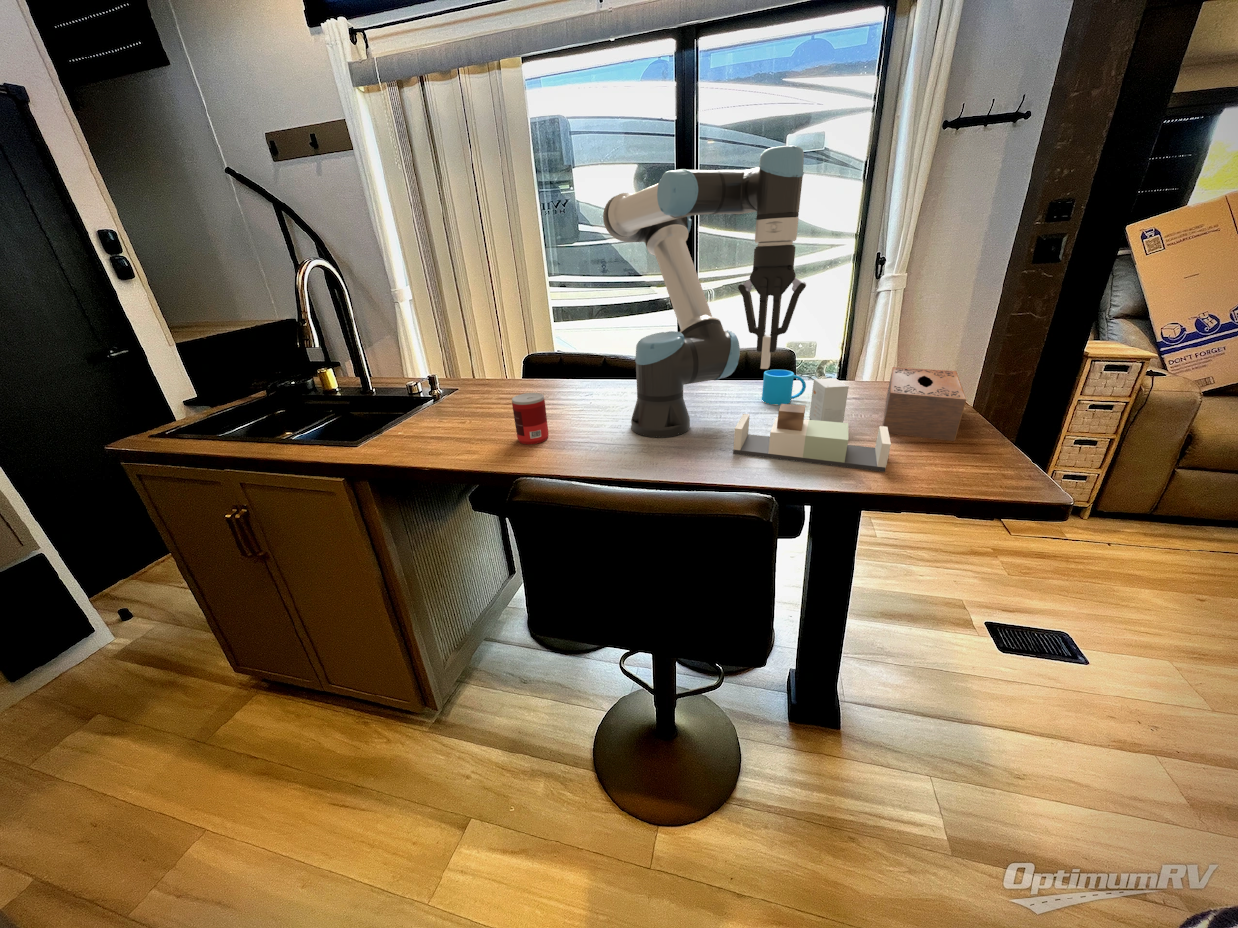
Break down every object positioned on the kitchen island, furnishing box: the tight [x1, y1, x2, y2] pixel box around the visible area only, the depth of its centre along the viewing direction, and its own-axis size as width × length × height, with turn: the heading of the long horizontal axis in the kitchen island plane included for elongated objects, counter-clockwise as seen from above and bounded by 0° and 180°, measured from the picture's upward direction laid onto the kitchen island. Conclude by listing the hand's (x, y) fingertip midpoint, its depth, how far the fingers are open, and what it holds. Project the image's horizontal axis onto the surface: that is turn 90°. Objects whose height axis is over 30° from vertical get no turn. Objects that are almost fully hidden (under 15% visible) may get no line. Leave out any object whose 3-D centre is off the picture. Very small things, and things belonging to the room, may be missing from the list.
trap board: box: [733, 413, 892, 473], centre depth 102 cm, size 30×10×6 cm, turn 66°
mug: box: [761, 369, 807, 406], centre depth 135 cm, size 12×8×8 cm
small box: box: [808, 377, 850, 423], centre depth 117 cm, size 8×6×10 cm
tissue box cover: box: [882, 366, 967, 442], centre depth 117 cm, size 26×14×10 cm, turn 151°
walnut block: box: [777, 403, 806, 431], centre depth 101 cm, size 5×5×4 cm
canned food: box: [511, 392, 549, 446], centre depth 116 cm, size 8×8×11 cm
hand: (765, 367), depth 99 cm, fingers closed
